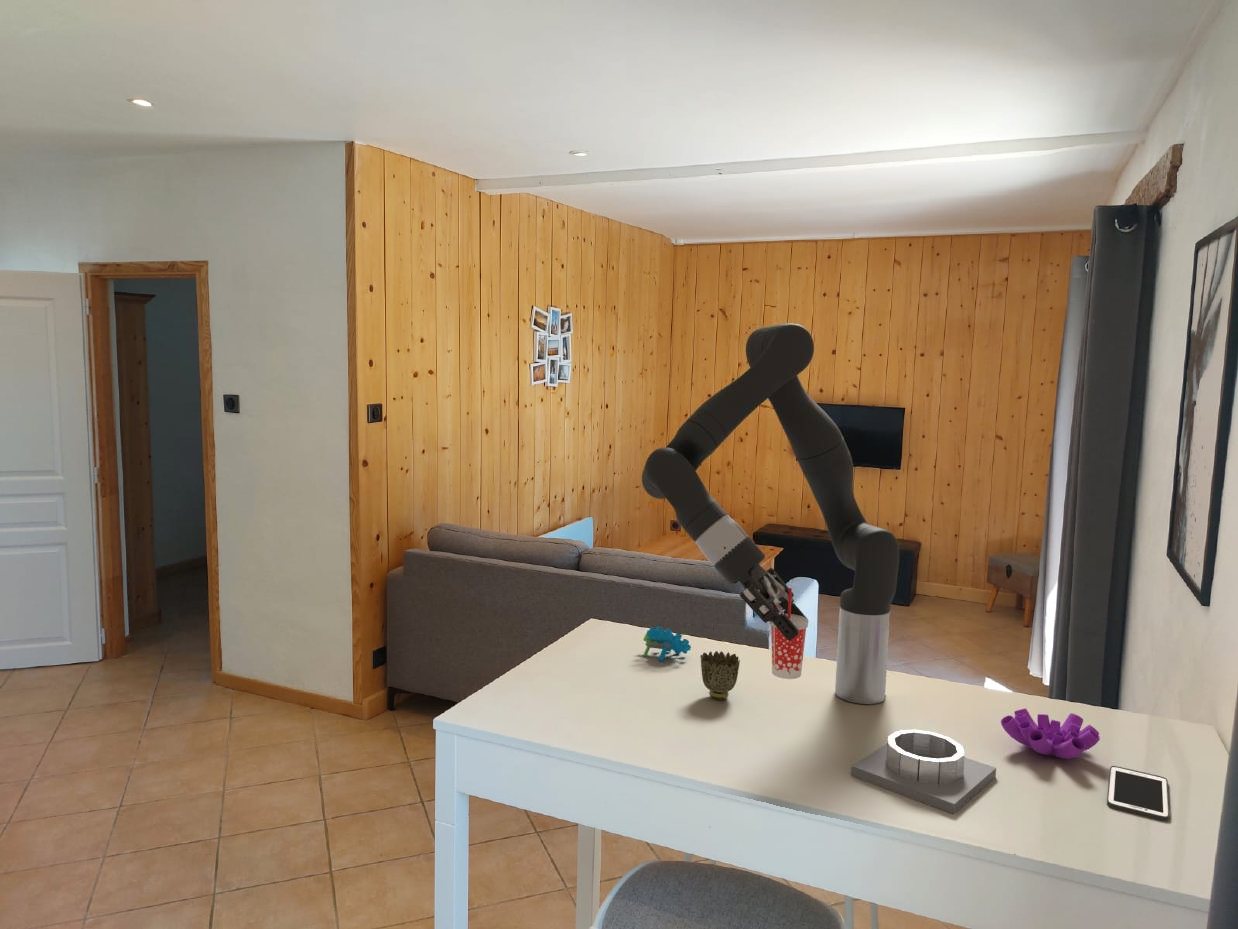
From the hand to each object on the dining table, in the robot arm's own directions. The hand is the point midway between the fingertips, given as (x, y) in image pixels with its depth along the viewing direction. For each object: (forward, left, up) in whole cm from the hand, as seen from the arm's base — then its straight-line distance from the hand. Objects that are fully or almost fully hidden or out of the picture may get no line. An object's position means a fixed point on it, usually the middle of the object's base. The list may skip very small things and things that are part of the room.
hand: (799, 630), depth 134 cm
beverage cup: (0, -2, -8) cm, 8 cm away
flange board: (-9, +18, -21) cm, 29 cm away
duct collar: (-9, +18, -20) cm, 28 cm away
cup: (-11, -23, -21) cm, 34 cm away
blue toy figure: (-22, -45, -21) cm, 55 cm away
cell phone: (-28, +43, -22) cm, 55 cm away
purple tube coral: (-32, +29, -21) cm, 48 cm away
